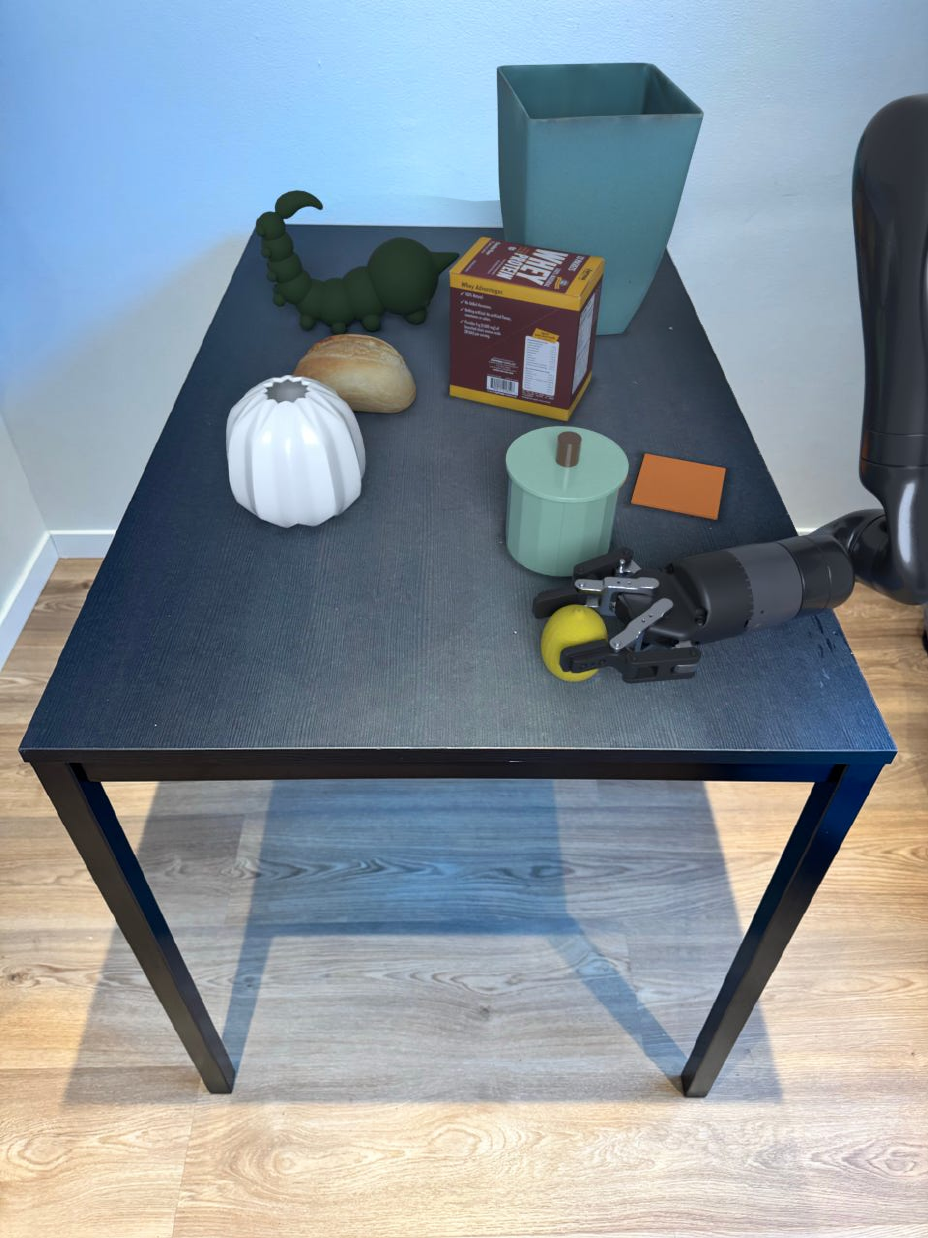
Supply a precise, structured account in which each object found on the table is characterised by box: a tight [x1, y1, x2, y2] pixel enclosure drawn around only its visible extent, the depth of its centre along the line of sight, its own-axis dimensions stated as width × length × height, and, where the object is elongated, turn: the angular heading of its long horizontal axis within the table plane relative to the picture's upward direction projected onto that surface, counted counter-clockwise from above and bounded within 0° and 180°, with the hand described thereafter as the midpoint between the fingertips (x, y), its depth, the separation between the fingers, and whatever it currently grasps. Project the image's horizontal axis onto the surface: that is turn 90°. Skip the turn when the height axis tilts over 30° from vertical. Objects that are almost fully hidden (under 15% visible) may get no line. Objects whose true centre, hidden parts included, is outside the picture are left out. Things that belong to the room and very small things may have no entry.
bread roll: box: [292, 333, 417, 414], centre depth 103 cm, size 10×15×8 cm, turn 92°
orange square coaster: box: [630, 453, 727, 521], centre depth 95 cm, size 9×9×1 cm
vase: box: [225, 374, 367, 529], centre depth 88 cm, size 14×14×13 cm
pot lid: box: [504, 425, 630, 503], centre depth 81 cm, size 11×11×4 cm
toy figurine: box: [255, 189, 461, 335], centre depth 113 cm, size 9×19×25 cm
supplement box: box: [448, 236, 605, 422], centre depth 103 cm, size 10×15×16 cm
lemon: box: [540, 605, 609, 683], centre depth 73 cm, size 6×6×8 cm
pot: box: [504, 475, 621, 577], centre depth 85 cm, size 10×10×9 cm
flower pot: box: [496, 62, 705, 336], centre depth 111 cm, size 20×20×28 cm
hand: (548, 634), depth 71 cm, fingers open, 5 cm apart
